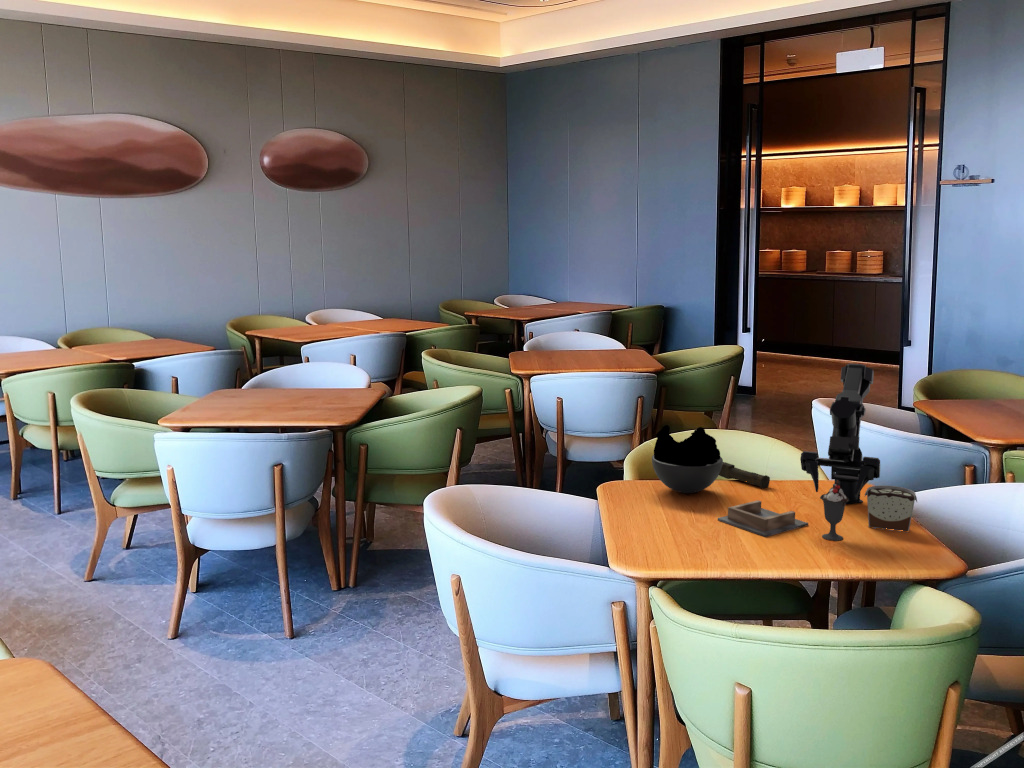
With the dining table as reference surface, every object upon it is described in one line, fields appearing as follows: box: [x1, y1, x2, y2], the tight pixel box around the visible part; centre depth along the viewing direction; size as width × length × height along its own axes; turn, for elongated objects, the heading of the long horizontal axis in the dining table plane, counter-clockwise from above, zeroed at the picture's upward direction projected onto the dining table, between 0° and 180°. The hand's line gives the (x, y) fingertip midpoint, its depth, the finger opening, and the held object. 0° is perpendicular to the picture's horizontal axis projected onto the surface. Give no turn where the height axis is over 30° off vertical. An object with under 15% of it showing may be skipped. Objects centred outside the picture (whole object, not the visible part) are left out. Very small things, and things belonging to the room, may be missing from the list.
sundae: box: [819, 481, 849, 542], centre depth 228 cm, size 7×7×15 cm
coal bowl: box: [651, 424, 724, 494], centre depth 267 cm, size 20×20×19 cm
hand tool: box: [718, 461, 771, 490], centre depth 280 cm, size 19×4×5 cm, turn 33°
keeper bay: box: [717, 499, 809, 538], centre depth 241 cm, size 16×16×4 cm
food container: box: [864, 484, 918, 532], centre depth 237 cm, size 12×6×10 cm, turn 65°
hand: (836, 493), depth 230 cm, fingers open, 9 cm apart
